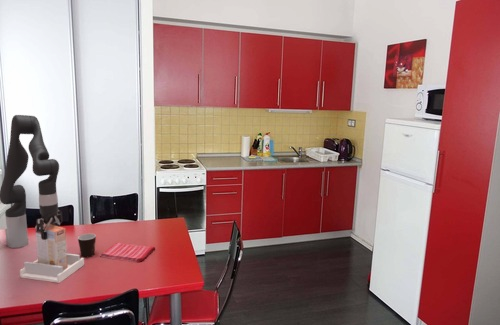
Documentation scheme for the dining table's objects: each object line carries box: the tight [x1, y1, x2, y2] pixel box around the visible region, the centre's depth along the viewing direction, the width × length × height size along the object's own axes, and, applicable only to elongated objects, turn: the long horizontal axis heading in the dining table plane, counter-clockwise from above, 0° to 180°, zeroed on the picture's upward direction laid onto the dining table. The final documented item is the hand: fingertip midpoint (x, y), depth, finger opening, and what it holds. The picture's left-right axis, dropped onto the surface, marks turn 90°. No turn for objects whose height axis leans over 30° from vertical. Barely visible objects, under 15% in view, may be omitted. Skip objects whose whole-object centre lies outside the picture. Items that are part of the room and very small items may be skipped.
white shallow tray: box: [19, 253, 85, 284], centre depth 175 cm, size 20×18×6 cm
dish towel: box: [99, 242, 156, 263], centre depth 197 cm, size 17×24×3 cm
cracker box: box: [34, 223, 68, 271], centre depth 173 cm, size 14×6×21 cm, turn 63°
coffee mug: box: [77, 233, 97, 258], centre depth 194 cm, size 12×9×10 cm
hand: (51, 235), depth 172 cm, fingers open, 8 cm apart
